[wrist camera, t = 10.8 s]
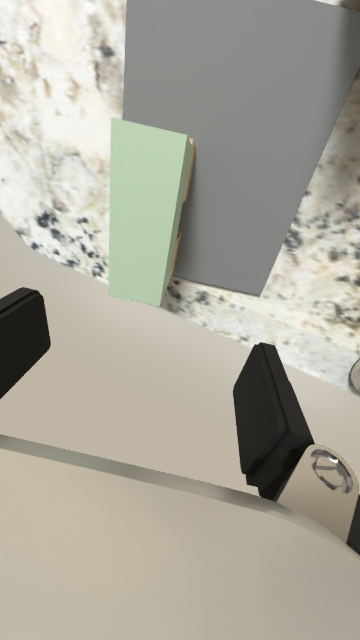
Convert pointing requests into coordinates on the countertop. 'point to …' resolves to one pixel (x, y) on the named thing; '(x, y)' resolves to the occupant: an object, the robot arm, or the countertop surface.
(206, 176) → the mat
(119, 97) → the countertop surface
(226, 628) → the robot arm
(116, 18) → the countertop surface
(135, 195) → the beam
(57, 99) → the countertop surface
